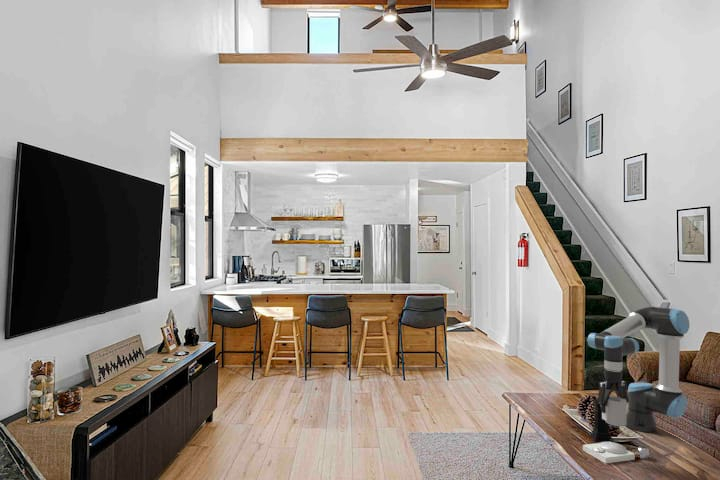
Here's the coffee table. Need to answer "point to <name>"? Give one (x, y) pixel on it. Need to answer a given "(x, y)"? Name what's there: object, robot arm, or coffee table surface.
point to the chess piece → (600, 425)
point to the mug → (616, 411)
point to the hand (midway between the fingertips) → (612, 418)
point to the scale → (609, 452)
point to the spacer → (643, 452)
